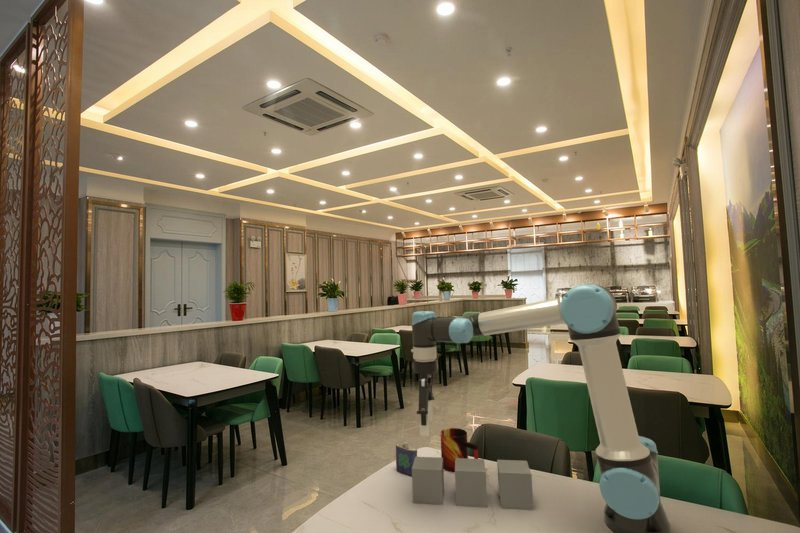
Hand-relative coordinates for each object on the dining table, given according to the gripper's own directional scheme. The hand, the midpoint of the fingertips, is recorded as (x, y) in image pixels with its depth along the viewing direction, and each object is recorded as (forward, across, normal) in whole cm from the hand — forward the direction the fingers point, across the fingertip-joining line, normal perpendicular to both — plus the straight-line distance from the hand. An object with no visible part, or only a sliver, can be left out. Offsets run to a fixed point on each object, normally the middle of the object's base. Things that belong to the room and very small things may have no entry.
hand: (426, 427), depth 123 cm
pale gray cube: (+21, 0, +13) cm, 24 cm away
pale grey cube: (+21, 0, +26) cm, 33 cm away
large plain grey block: (+21, 0, 0) cm, 21 cm away
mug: (+21, -21, +10) cm, 31 cm away
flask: (+21, -15, -9) cm, 27 cm away
